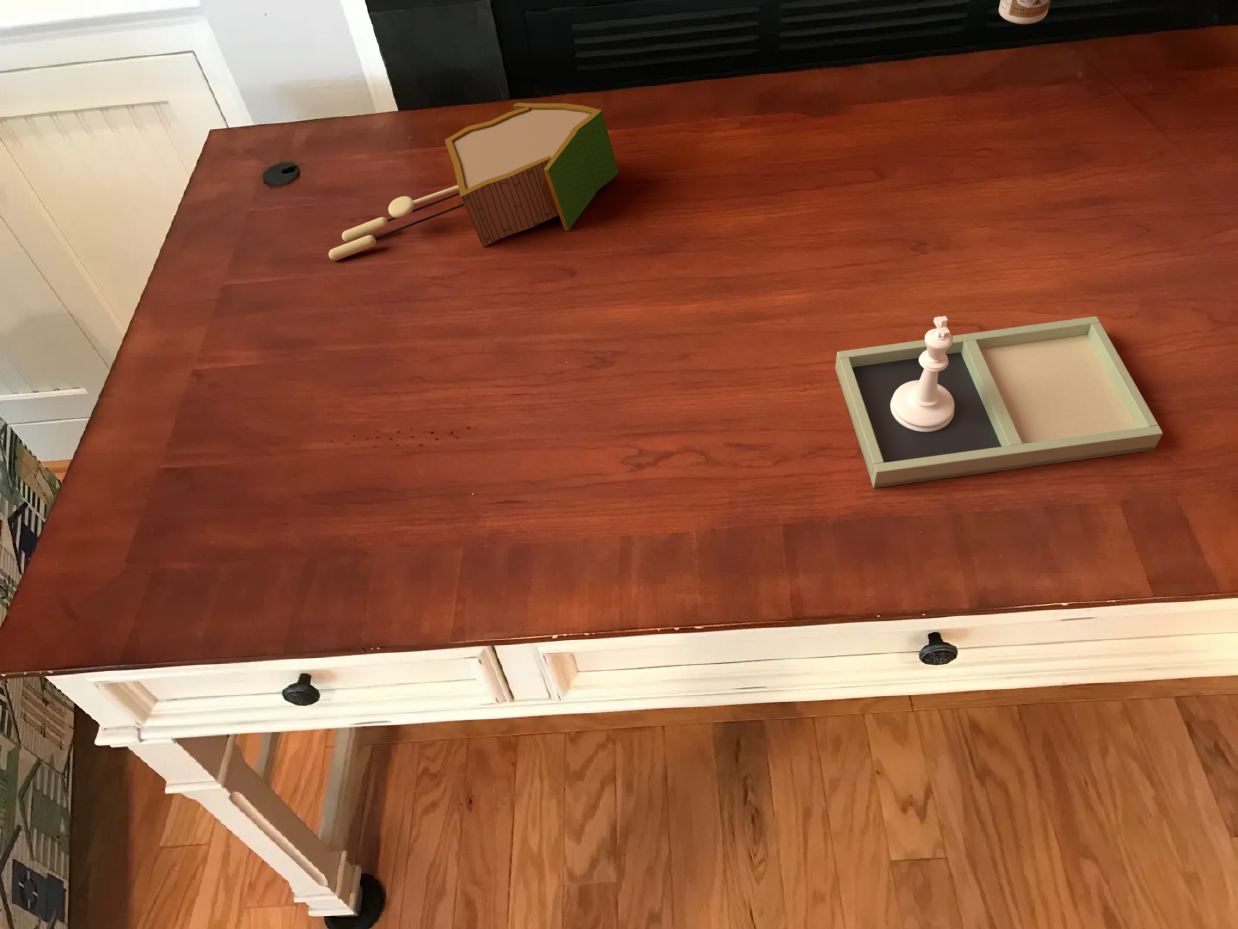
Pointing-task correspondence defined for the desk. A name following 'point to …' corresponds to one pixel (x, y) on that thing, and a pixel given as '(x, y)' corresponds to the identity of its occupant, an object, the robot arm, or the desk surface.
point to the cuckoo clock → (515, 173)
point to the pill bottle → (1024, 10)
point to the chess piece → (927, 386)
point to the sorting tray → (999, 403)
